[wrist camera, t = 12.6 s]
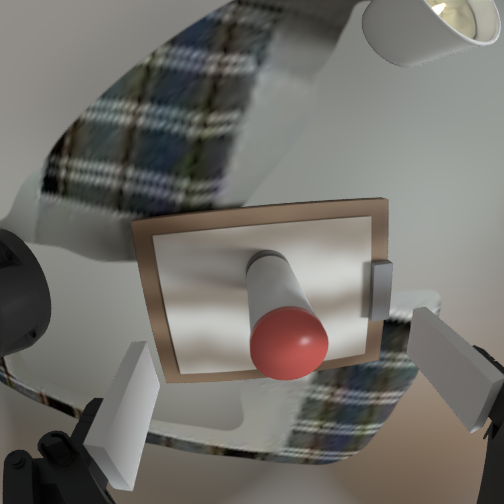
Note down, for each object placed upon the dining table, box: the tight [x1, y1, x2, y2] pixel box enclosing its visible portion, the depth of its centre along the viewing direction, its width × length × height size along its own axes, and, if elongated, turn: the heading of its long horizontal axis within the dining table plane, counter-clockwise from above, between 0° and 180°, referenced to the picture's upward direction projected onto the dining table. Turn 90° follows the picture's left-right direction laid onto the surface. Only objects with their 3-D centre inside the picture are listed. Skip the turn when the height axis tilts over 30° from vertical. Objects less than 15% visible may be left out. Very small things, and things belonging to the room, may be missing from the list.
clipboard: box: [131, 197, 393, 383], centre depth 30 cm, size 18×24×3 cm
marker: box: [246, 250, 329, 380], centre depth 22 cm, size 4×4×13 cm
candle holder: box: [362, 0, 501, 67], centre depth 18 cm, size 10×10×12 cm
